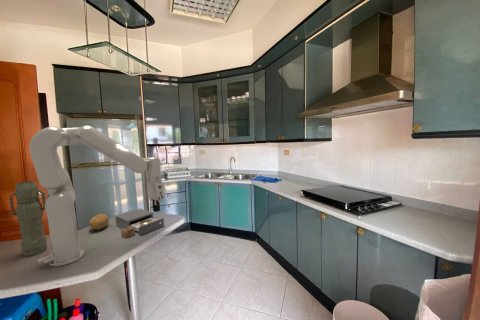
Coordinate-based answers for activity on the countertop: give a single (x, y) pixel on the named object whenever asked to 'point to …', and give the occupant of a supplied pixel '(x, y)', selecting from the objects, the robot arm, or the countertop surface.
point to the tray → (148, 226)
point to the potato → (99, 221)
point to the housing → (132, 217)
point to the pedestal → (128, 232)
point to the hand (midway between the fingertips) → (156, 211)
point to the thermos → (30, 217)
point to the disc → (145, 222)
